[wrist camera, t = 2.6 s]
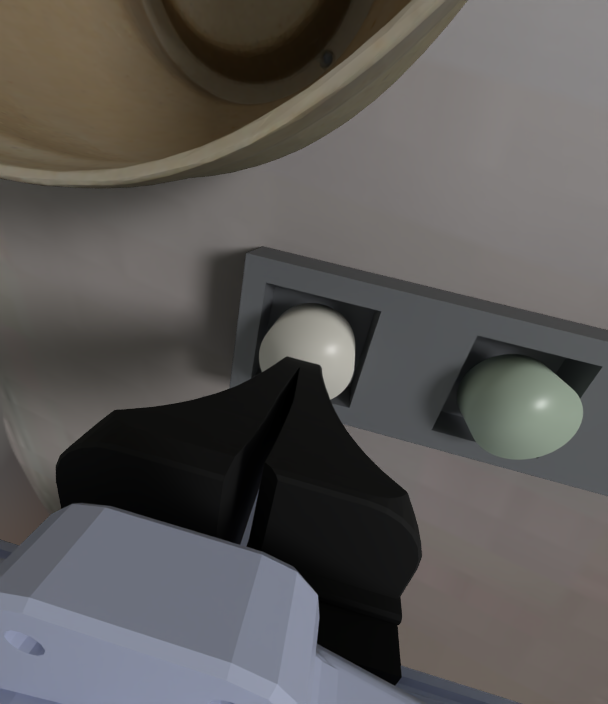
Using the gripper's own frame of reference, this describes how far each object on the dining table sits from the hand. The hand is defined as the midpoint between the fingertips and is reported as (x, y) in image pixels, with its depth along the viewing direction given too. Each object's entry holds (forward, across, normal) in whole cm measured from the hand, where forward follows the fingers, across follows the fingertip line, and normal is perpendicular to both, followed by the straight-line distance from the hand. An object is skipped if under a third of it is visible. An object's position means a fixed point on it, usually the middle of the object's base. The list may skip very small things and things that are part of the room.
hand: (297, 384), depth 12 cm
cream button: (+4, 0, 0) cm, 4 cm away
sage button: (+4, -9, 0) cm, 10 cm away
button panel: (+6, -9, 0) cm, 11 cm away
